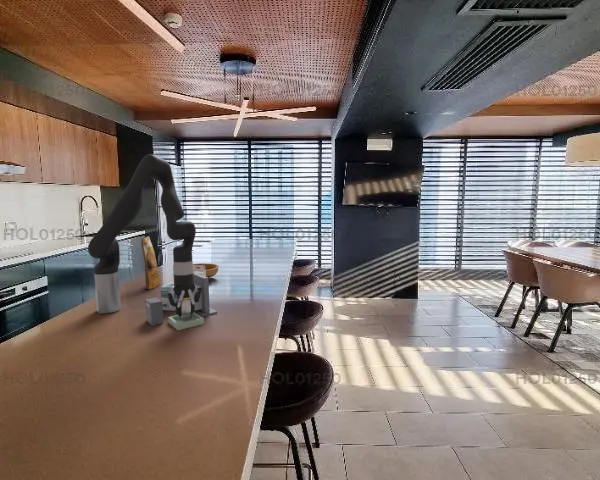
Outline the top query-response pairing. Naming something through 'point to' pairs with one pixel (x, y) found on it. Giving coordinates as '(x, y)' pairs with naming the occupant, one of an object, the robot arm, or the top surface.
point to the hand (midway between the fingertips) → (185, 314)
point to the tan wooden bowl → (209, 269)
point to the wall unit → (202, 296)
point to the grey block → (154, 311)
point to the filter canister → (185, 309)
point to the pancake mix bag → (150, 264)
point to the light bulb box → (165, 299)
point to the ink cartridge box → (201, 270)
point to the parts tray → (181, 324)
